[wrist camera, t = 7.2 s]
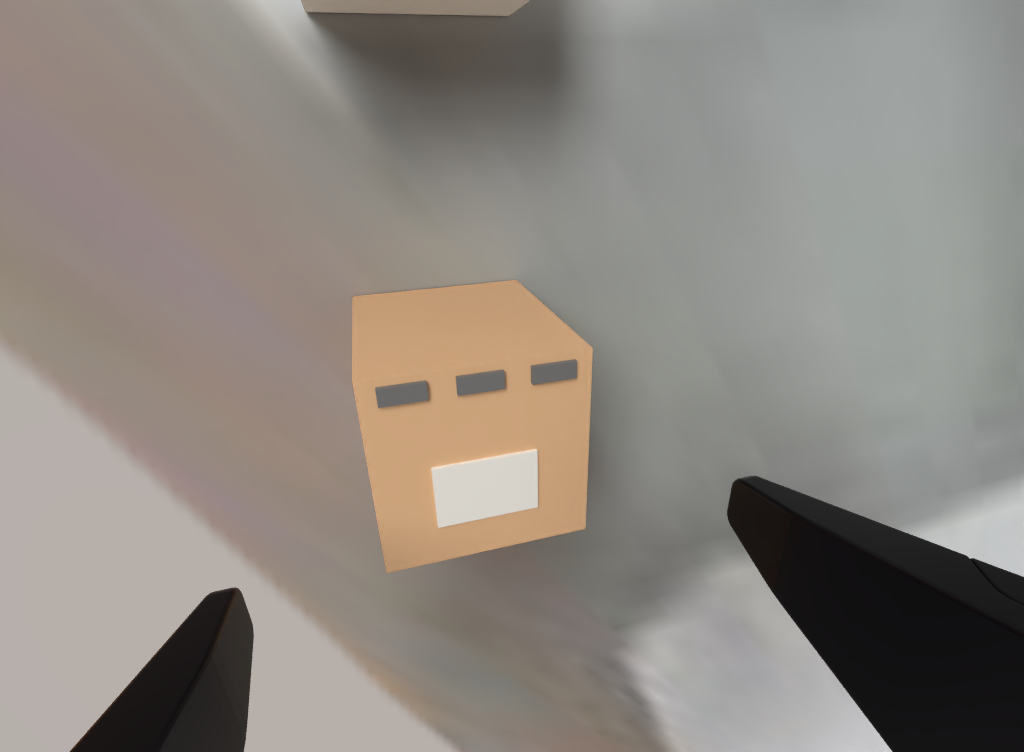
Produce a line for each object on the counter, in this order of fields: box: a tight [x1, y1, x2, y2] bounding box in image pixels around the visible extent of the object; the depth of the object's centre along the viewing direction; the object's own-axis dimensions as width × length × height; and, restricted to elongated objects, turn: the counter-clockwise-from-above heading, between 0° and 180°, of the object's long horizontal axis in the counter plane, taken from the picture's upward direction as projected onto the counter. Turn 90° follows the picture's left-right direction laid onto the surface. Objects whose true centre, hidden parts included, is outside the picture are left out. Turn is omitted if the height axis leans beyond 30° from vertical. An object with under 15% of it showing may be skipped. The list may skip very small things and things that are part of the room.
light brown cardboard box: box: [352, 280, 593, 573], centre depth 14 cm, size 5×5×6 cm
